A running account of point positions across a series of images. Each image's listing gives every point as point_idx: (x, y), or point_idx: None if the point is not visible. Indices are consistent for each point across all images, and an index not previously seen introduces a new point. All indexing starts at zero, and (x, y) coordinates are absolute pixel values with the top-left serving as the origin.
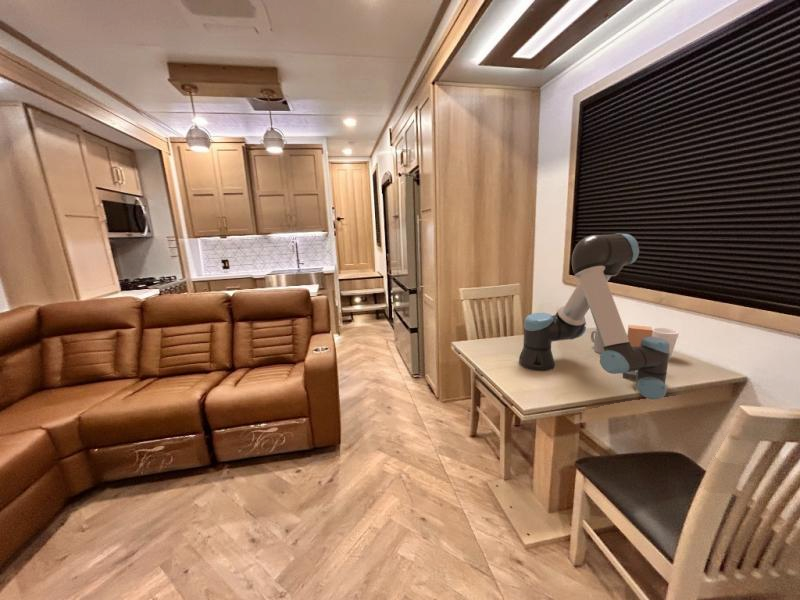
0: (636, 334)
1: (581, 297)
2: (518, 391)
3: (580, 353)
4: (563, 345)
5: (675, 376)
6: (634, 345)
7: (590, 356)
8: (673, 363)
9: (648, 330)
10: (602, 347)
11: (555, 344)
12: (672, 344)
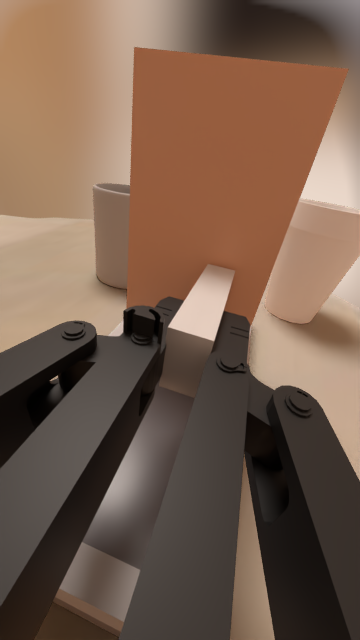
0: (190, 137)
1: None
2: None
3: (29, 277)
4: (26, 246)
5: (353, 468)
6: (170, 249)
7: (47, 293)
8: (324, 341)
9: (304, 74)
10: (108, 260)
11: (5, 241)
12: (346, 267)
